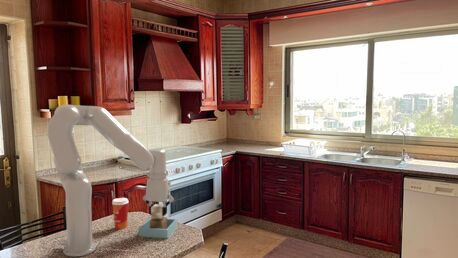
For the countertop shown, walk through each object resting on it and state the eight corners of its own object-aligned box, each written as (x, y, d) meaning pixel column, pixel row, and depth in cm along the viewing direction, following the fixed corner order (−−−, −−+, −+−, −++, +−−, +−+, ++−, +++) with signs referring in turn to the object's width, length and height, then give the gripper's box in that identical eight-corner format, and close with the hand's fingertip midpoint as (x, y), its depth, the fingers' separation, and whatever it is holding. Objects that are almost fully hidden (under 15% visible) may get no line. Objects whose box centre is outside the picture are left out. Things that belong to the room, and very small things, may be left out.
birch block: (151, 218, 156) (151, 207, 156) (155, 214, 161) (155, 204, 161) (161, 218, 155) (161, 208, 155) (165, 215, 160) (165, 204, 160)
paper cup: (111, 226, 166) (110, 198, 165) (128, 224, 170) (127, 196, 168) (113, 232, 159) (112, 203, 158) (130, 229, 163) (129, 201, 161)
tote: (138, 237, 154) (138, 227, 153) (150, 226, 167) (150, 217, 166) (167, 239, 151) (167, 230, 151) (177, 228, 165) (177, 219, 164)
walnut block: (150, 233, 157) (149, 220, 156) (155, 228, 162) (154, 216, 162) (162, 234, 156) (162, 221, 155) (167, 229, 161) (167, 217, 161)
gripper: (136, 177, 154) (137, 216, 156) (172, 178, 151) (173, 218, 153) (143, 173, 162) (144, 210, 163) (178, 175, 159) (178, 213, 160)
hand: (158, 214), depth 158 cm, fingers open, 5 cm apart
